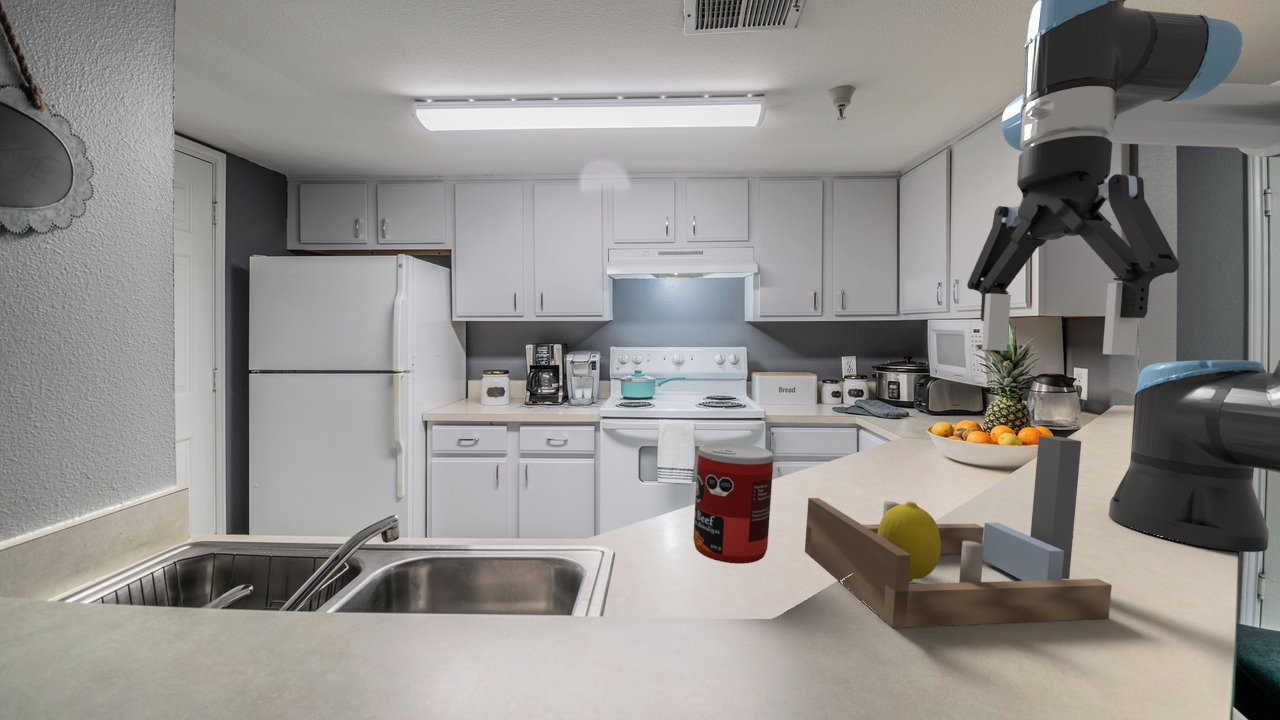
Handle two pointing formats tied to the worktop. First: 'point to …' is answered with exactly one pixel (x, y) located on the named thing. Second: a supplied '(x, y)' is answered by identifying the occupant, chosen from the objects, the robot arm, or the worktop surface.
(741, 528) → the canned food
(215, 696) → the worktop surface
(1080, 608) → the lane
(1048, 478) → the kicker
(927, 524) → the lemon
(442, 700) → the worktop surface
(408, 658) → the worktop surface
